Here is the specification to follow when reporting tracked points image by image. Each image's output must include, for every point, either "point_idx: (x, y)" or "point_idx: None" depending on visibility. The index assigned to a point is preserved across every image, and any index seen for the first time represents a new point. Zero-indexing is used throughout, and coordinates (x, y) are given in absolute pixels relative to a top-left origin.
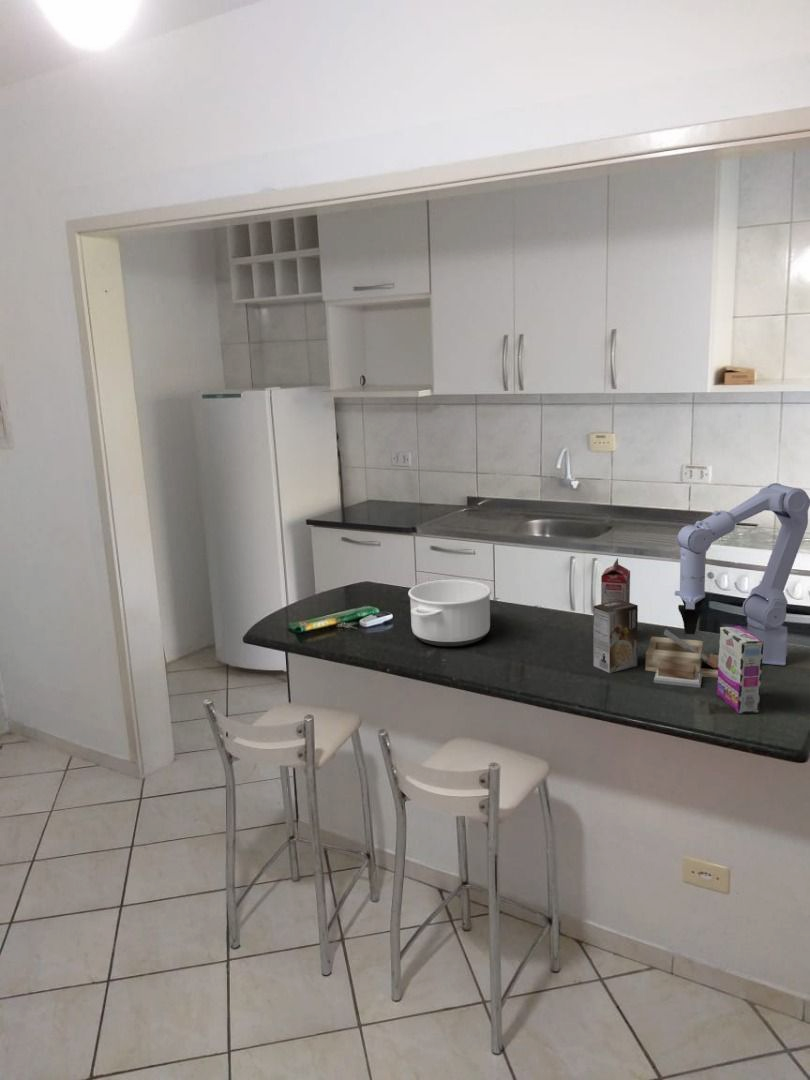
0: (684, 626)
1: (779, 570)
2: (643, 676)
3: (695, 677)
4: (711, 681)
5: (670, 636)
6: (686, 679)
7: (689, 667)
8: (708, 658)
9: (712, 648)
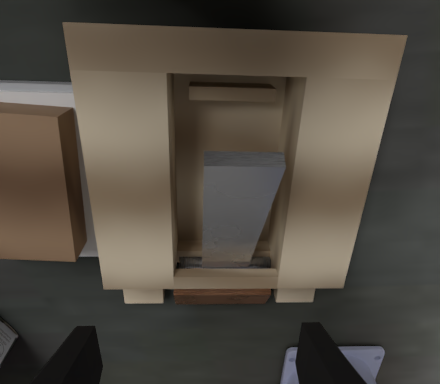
0: (36, 375)
1: None
2: (15, 20)
3: None
4: (87, 275)
5: (203, 192)
6: None
7: (42, 242)
8: None
9: (415, 266)
